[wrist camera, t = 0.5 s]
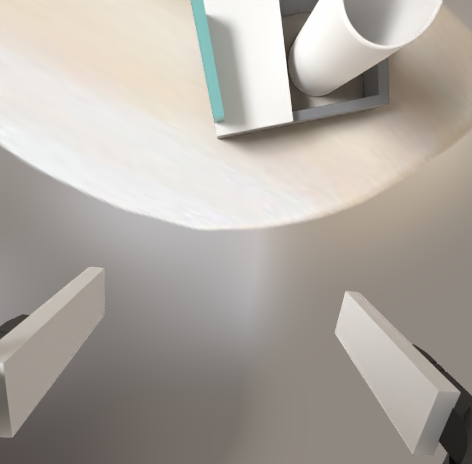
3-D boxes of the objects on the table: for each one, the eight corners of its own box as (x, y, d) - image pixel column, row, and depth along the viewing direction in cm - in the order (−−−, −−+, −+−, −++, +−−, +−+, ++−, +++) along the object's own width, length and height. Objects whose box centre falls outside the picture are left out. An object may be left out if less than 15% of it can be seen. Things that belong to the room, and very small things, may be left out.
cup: (361, 53, 35) (471, -30, 20) (322, 109, 37) (396, 72, 21) (314, 10, 33) (392, -118, 18) (275, 70, 35) (316, 0, 20)
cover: (191, 4, 29) (186, -23, 25) (275, -12, 29) (284, -42, 25) (217, 136, 33) (216, 133, 29) (291, 122, 33) (301, 116, 29)
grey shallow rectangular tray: (195, 22, 33) (192, 6, 30) (368, -12, 33) (385, -32, 30) (217, 138, 37) (217, 136, 33) (373, 108, 37) (388, 103, 33)
